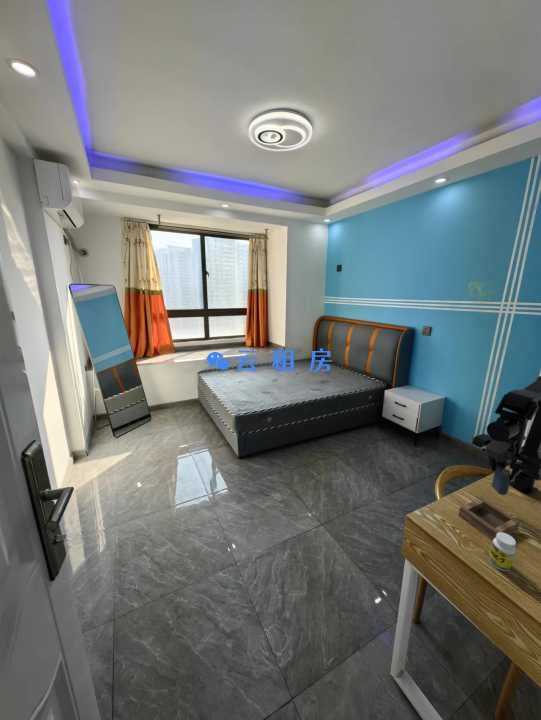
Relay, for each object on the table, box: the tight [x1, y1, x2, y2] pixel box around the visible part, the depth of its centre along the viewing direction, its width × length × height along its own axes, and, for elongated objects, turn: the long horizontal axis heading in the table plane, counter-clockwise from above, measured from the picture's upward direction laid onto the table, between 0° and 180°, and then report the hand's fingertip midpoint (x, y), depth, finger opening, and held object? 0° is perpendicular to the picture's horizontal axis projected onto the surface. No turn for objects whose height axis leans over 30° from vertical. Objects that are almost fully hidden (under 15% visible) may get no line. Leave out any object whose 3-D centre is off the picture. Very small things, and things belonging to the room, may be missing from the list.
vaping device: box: [491, 460, 511, 496], centre depth 94 cm, size 3×5×12 cm, turn 174°
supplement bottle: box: [488, 532, 517, 572], centre depth 77 cm, size 5×5×8 cm
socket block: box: [458, 497, 520, 541], centre depth 90 cm, size 11×11×3 cm
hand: (501, 475), depth 94 cm, fingers closed on vaping device, 5 cm apart
